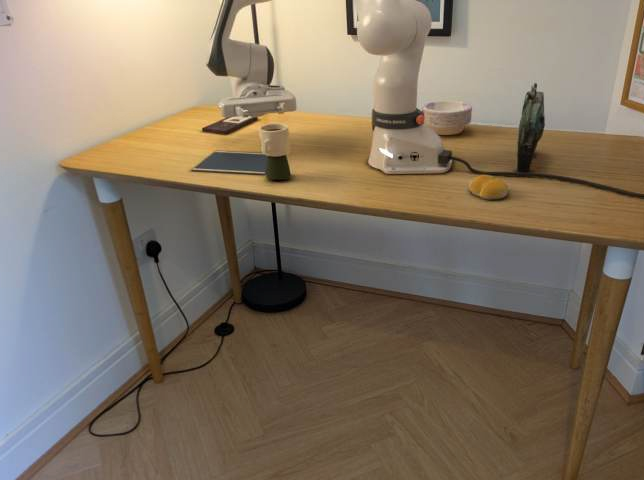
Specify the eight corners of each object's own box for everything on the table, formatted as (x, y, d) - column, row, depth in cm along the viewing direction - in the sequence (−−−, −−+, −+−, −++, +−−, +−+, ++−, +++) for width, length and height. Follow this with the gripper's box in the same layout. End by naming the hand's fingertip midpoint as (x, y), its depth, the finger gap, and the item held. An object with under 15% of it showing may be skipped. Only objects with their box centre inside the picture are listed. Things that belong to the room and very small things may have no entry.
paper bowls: (420, 124, 182) (421, 99, 178) (467, 124, 181) (469, 99, 177) (422, 138, 169) (423, 112, 165) (472, 138, 169) (475, 111, 164)
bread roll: (493, 203, 128) (495, 187, 126) (463, 192, 134) (464, 176, 132) (515, 194, 132) (517, 178, 130) (485, 183, 138) (487, 168, 136)
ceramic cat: (517, 149, 159) (527, 76, 149) (541, 151, 158) (552, 77, 147) (510, 174, 143) (520, 93, 133) (536, 176, 142) (548, 95, 131)
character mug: (274, 169, 148) (269, 120, 142) (299, 172, 147) (295, 122, 140) (256, 184, 140) (249, 132, 133) (282, 187, 138) (277, 134, 131)
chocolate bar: (201, 128, 178) (235, 113, 192) (202, 131, 178) (235, 116, 192) (225, 131, 175) (257, 116, 189) (225, 134, 175) (257, 119, 189)
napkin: (283, 154, 158) (282, 153, 158) (263, 175, 145) (263, 173, 145) (216, 151, 162) (216, 150, 162) (191, 171, 148) (191, 169, 148)
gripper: (214, 91, 152) (220, 103, 141) (288, 85, 158) (300, 96, 147) (218, 114, 156) (224, 128, 145) (290, 108, 161) (301, 120, 150)
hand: (263, 112), depth 146 cm, fingers open, 8 cm apart
